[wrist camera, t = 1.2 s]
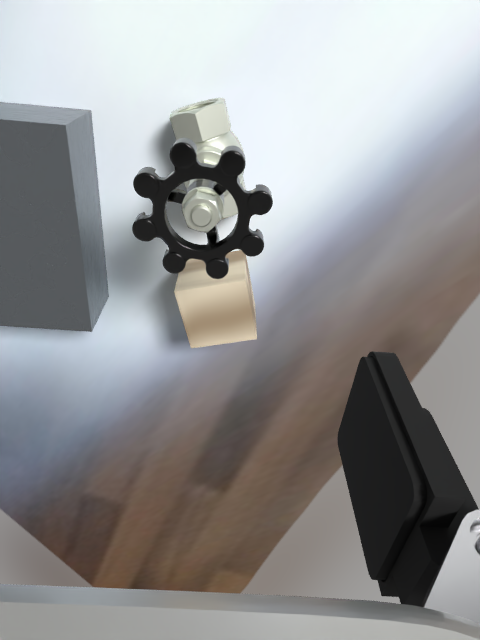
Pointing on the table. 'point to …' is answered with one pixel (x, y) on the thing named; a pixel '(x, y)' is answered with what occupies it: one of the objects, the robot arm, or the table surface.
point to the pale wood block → (216, 303)
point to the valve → (202, 191)
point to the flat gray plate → (50, 220)
